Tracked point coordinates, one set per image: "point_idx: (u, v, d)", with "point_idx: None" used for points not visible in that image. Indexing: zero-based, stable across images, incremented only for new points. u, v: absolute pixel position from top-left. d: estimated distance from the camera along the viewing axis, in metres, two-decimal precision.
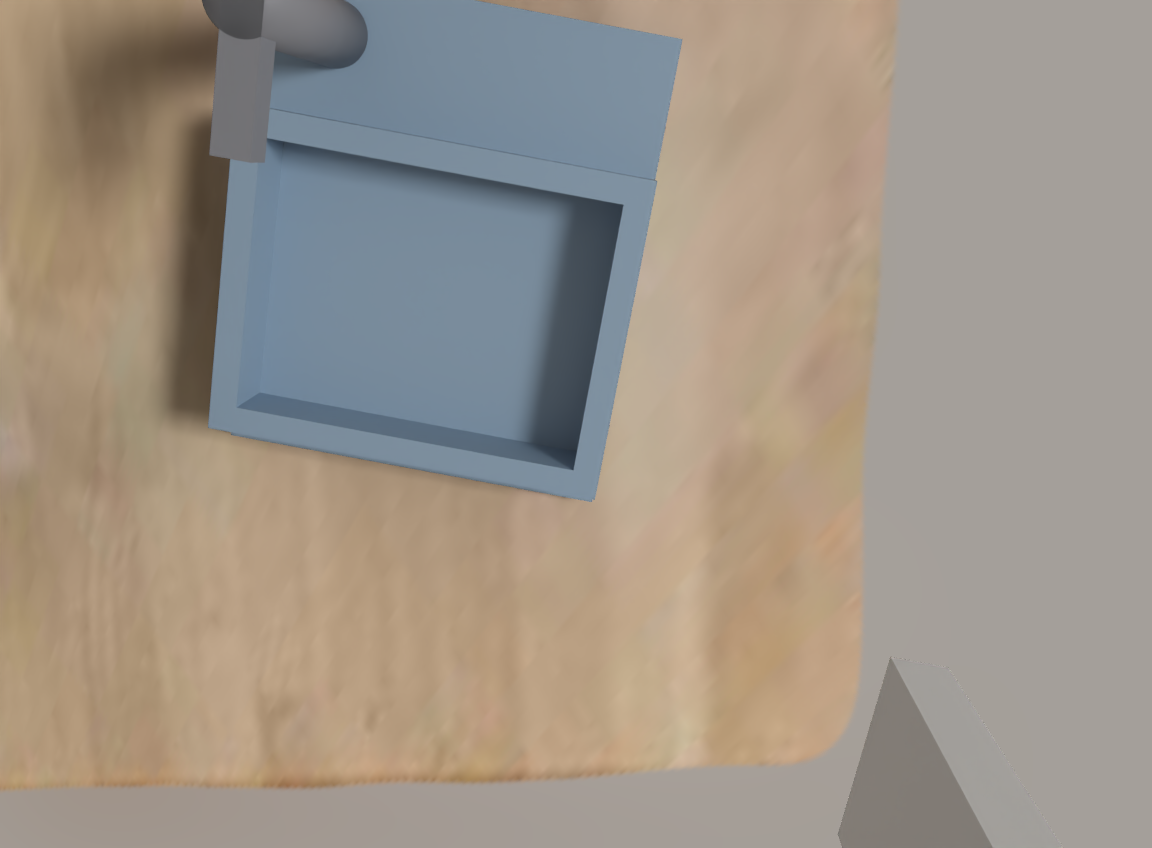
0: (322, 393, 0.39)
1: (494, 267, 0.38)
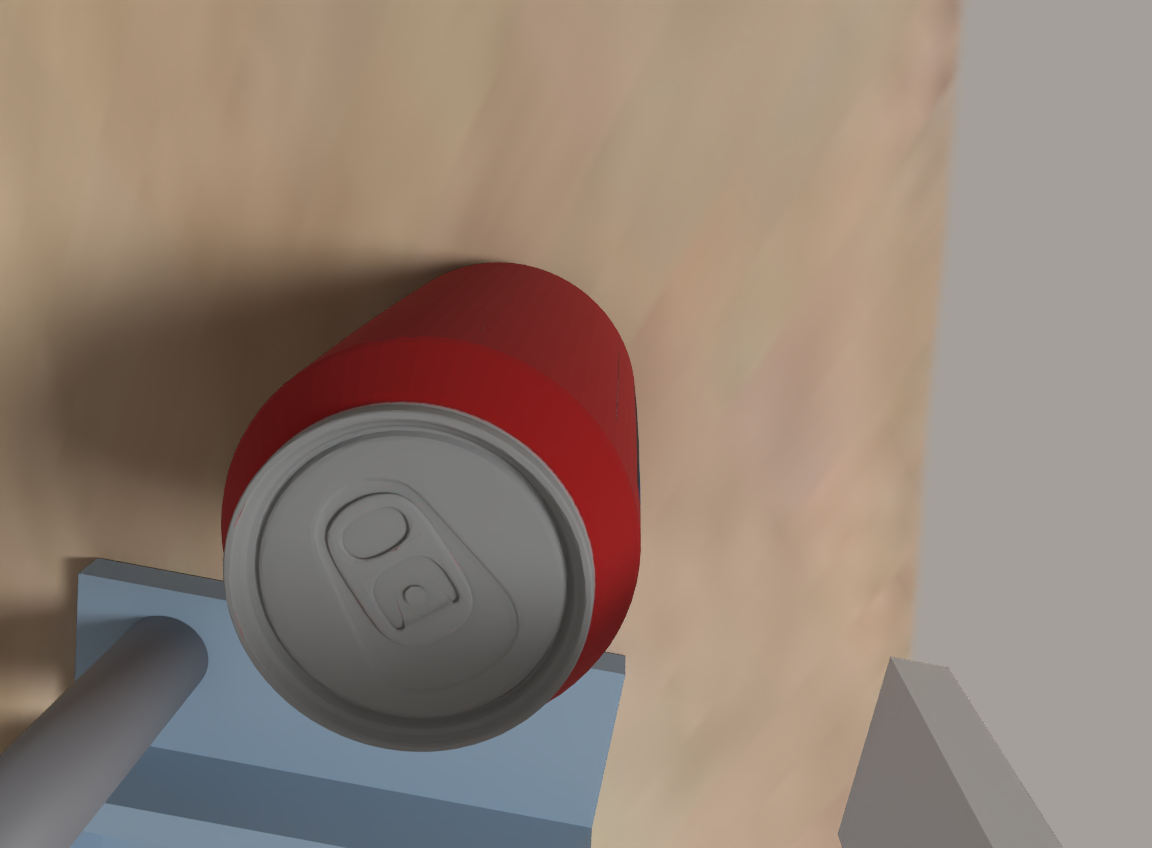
0: None
1: None
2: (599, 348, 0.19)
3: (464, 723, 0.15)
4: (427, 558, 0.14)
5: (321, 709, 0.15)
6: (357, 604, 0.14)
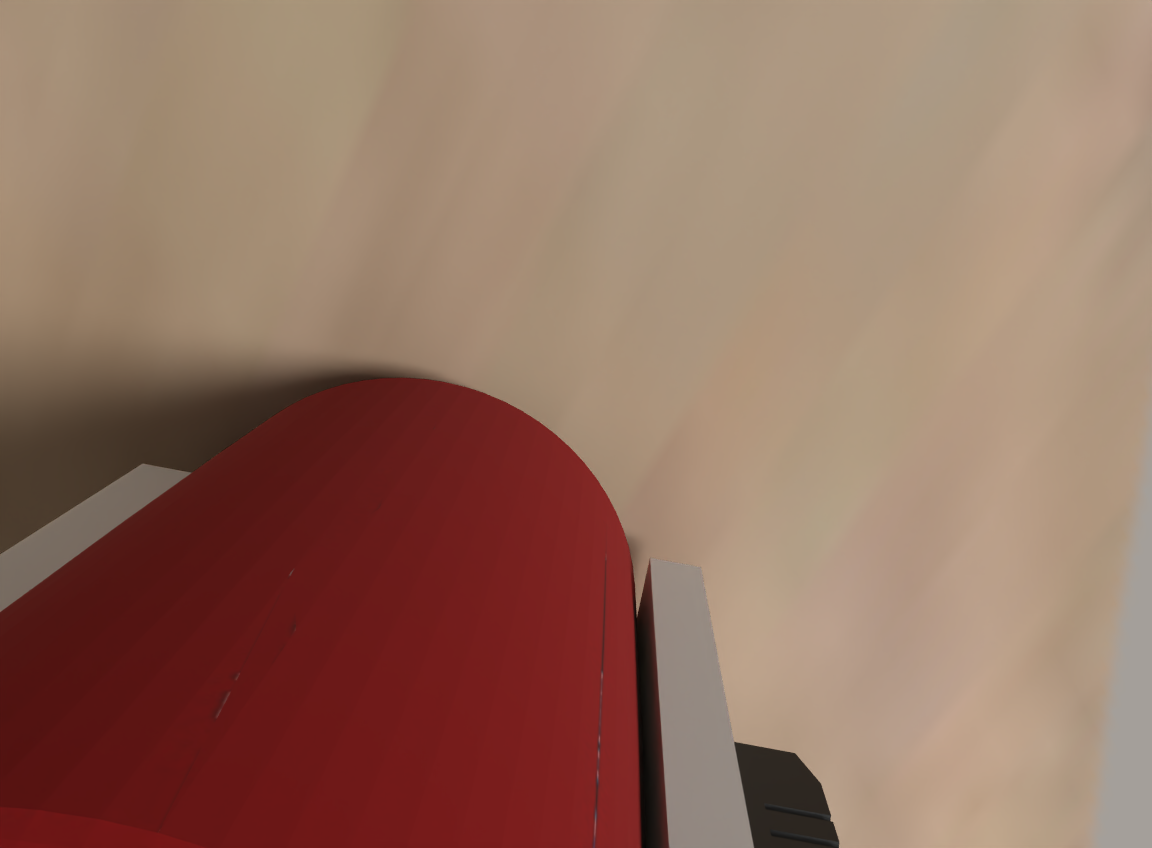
0: None
1: None
2: (563, 599, 0.09)
3: None
4: None
5: None
6: None
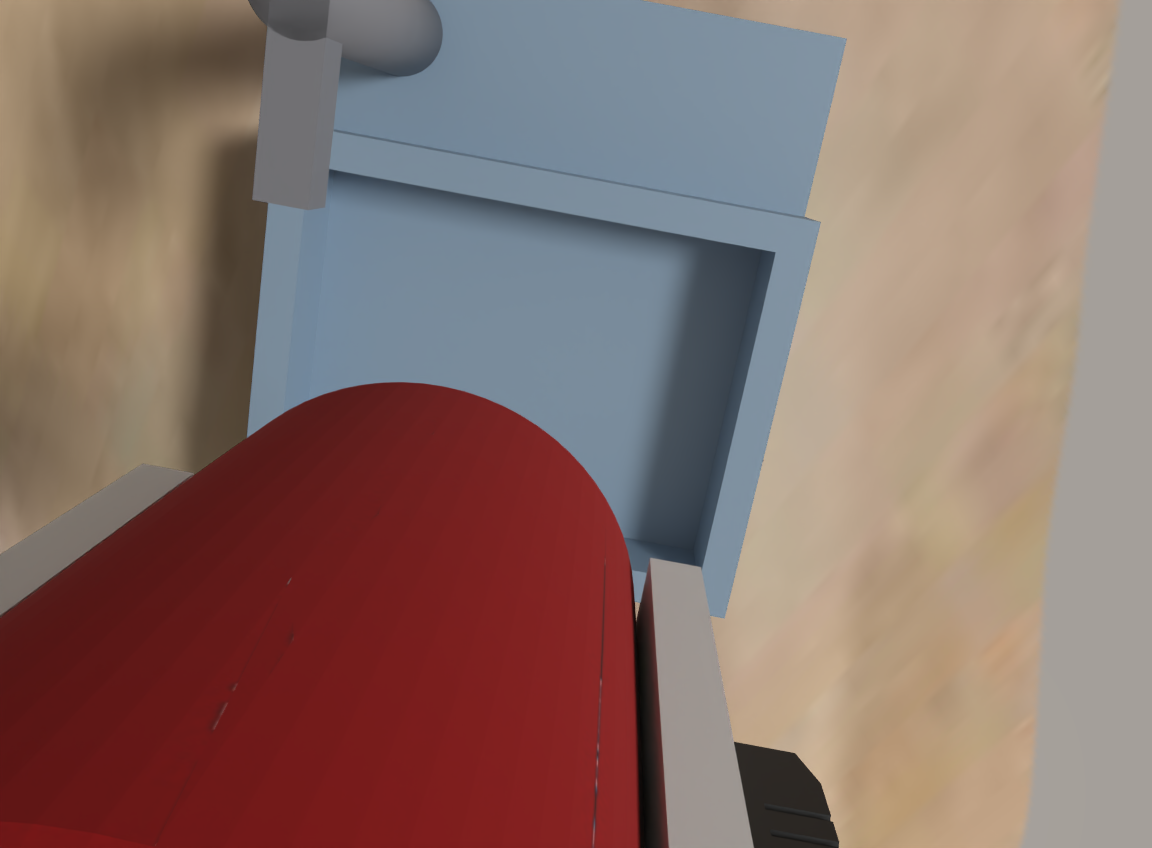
0: None
1: (597, 325, 0.30)
2: (562, 606, 0.09)
3: None
4: None
5: None
6: None
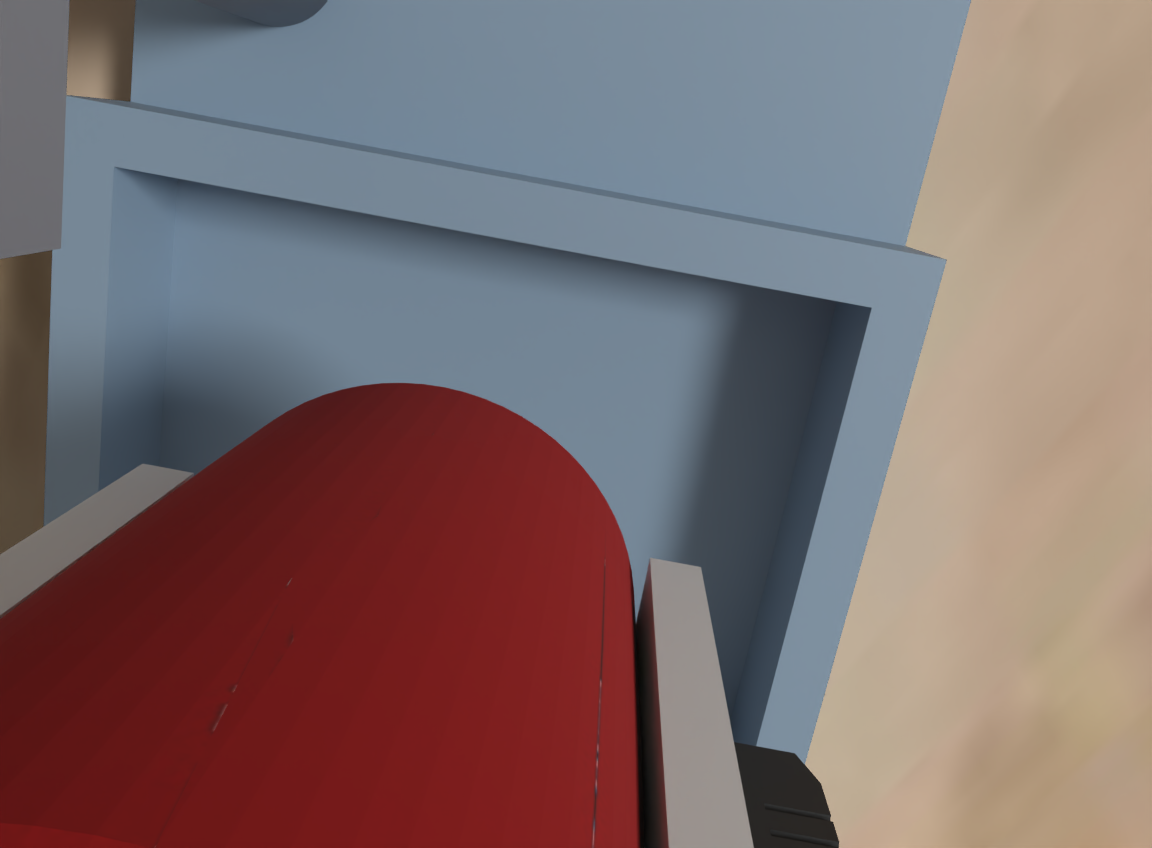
0: None
1: (585, 409, 0.20)
2: (562, 607, 0.09)
3: None
4: None
5: None
6: None
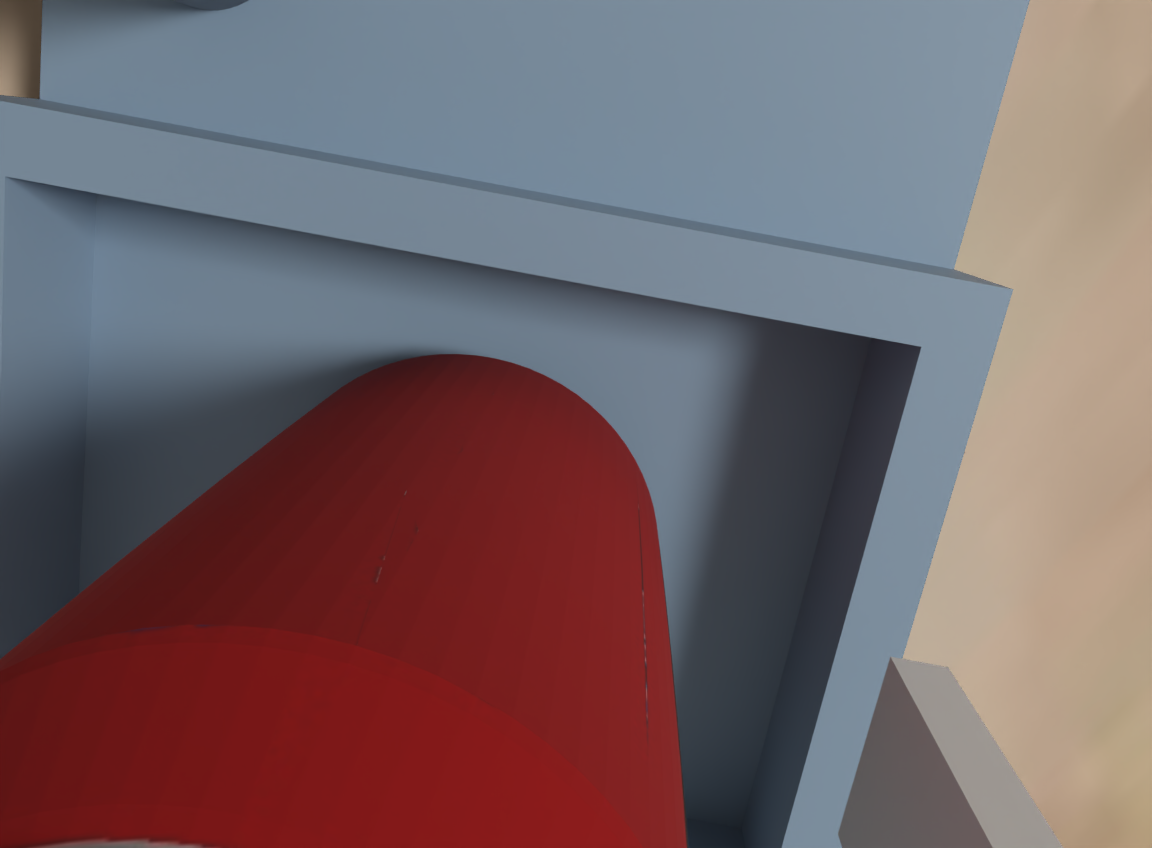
0: None
1: None
2: (610, 531, 0.11)
3: None
4: None
5: None
6: None
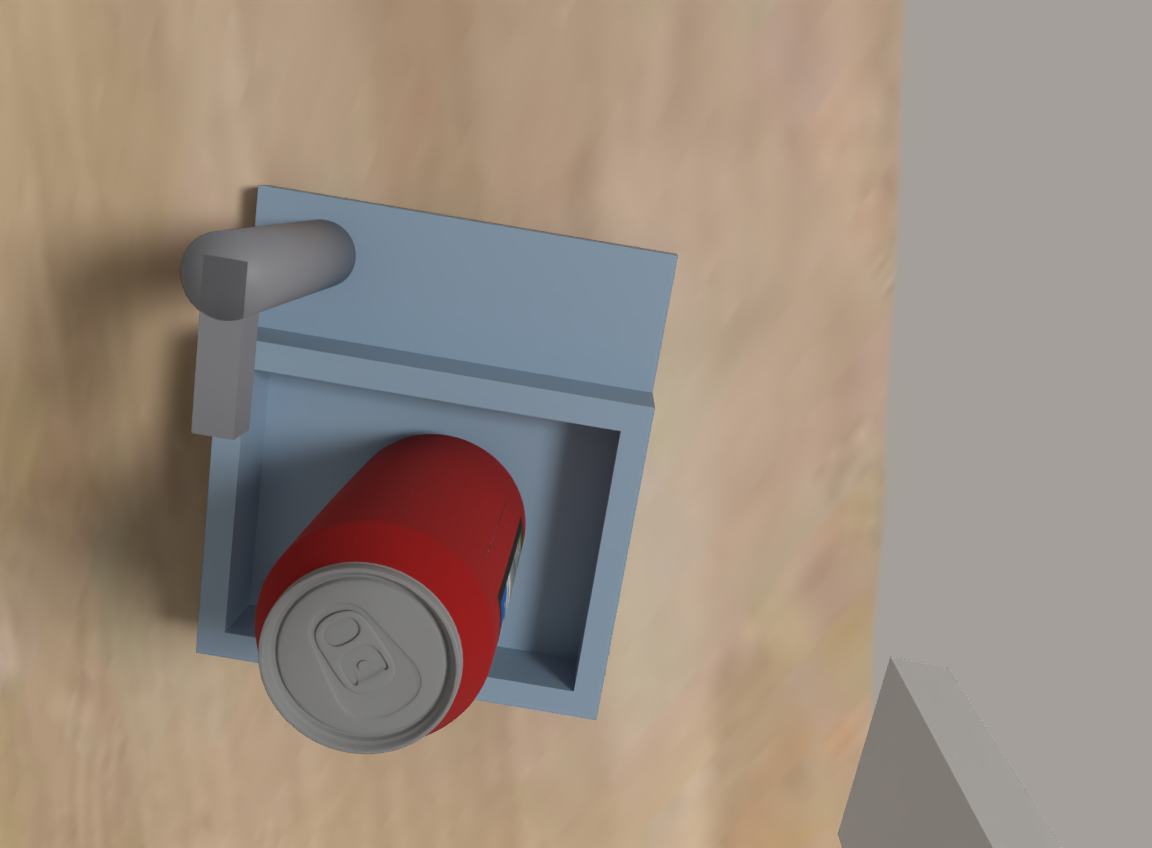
0: None
1: None
2: (486, 505, 0.31)
3: (392, 737, 0.26)
4: (370, 645, 0.26)
5: (311, 730, 0.26)
6: (332, 671, 0.26)
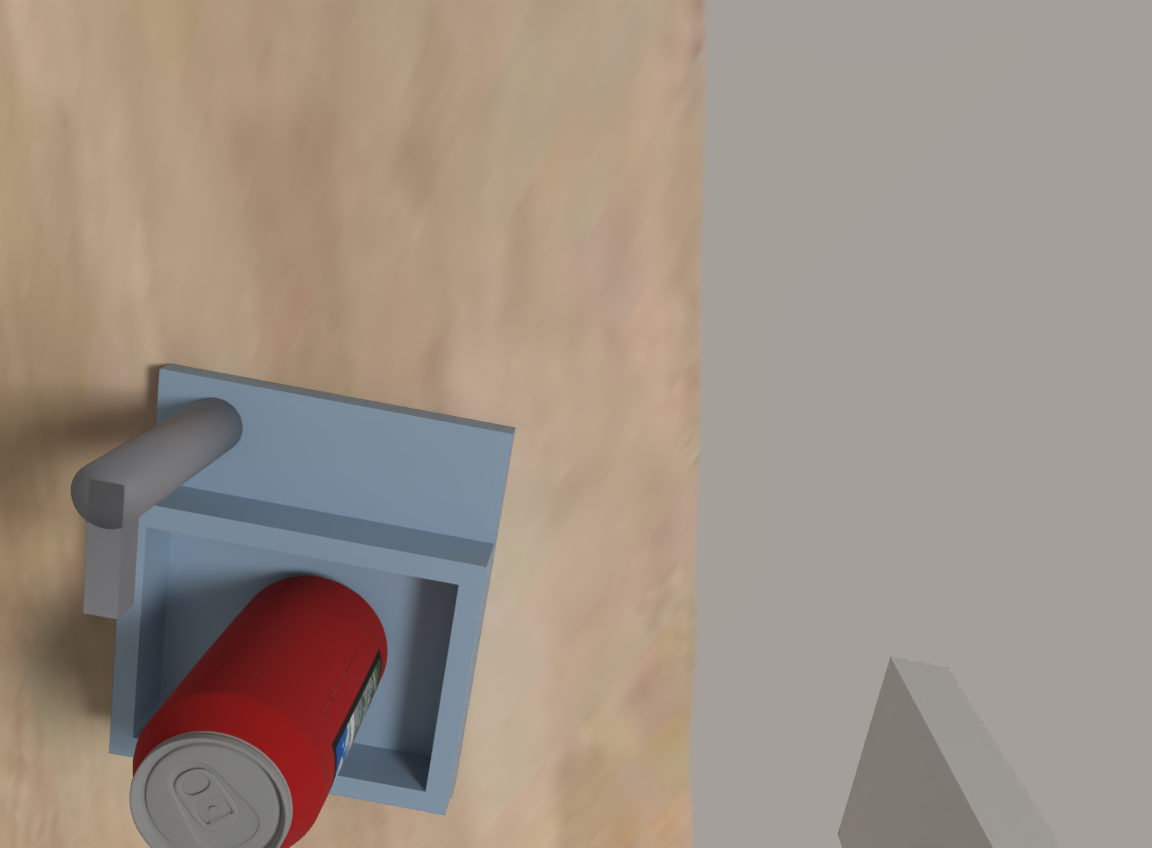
0: None
1: None
2: (337, 655, 0.38)
3: None
4: (218, 794, 0.32)
5: None
6: (188, 813, 0.33)
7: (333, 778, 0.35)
